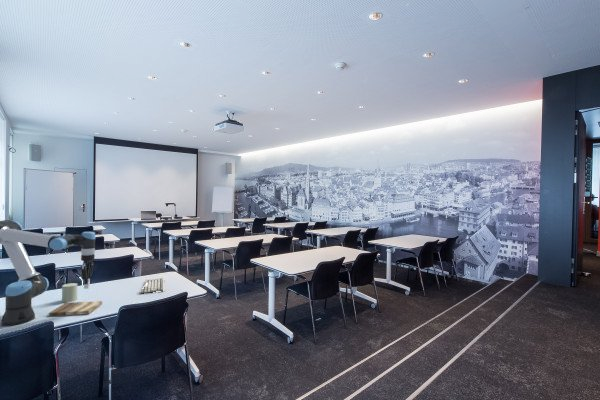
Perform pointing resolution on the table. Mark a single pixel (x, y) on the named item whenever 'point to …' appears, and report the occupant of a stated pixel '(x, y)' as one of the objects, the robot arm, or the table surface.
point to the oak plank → (83, 308)
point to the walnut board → (62, 309)
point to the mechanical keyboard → (153, 286)
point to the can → (69, 292)
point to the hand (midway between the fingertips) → (86, 288)
